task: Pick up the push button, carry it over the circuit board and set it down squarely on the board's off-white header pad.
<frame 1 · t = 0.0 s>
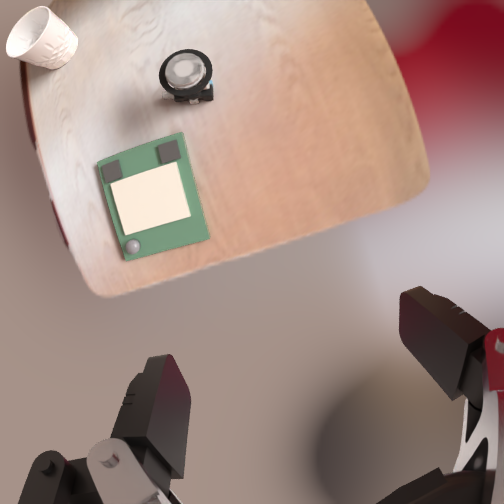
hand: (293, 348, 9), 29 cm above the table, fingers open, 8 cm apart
board: (152, 197, 35), on the table
push button: (190, 94, 32), on the table
white cup: (61, 51, 27), on the table
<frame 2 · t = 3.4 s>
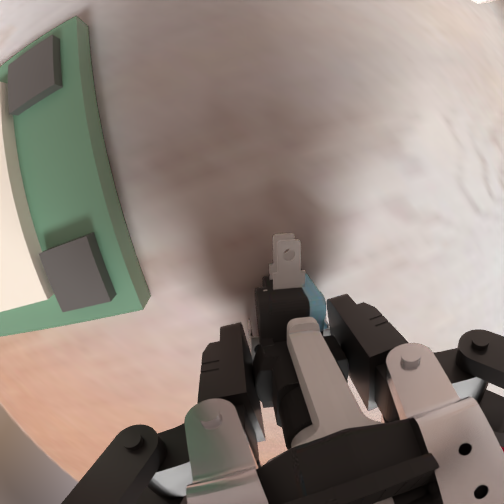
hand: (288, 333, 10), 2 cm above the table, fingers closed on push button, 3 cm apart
push button: (283, 308, 12), on the table, touching gripper
when the fingers open (4 cm above the table, at t = 7.2 s): push button stays where it is, resting on board.
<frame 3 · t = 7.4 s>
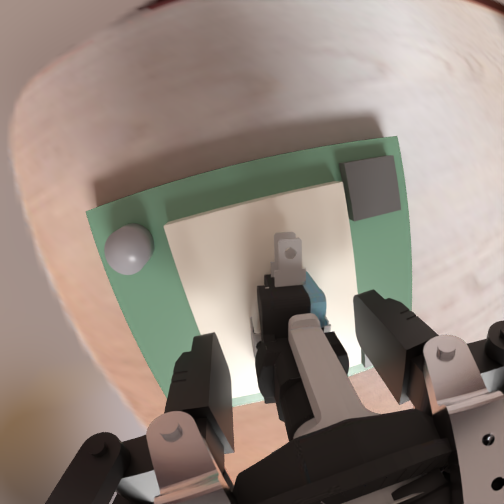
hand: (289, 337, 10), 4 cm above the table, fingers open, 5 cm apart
board: (272, 289, 14), on the table
push button: (284, 305, 12), point 2 cm above the table, touching board
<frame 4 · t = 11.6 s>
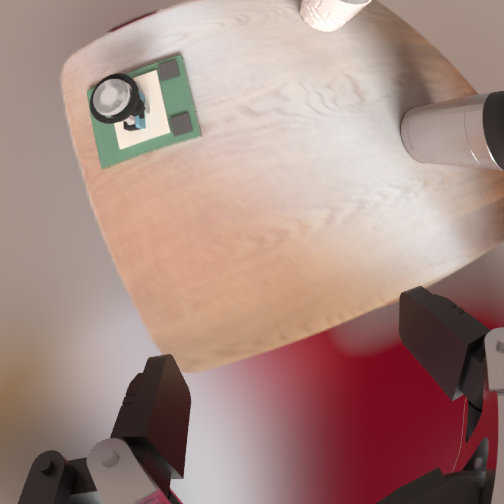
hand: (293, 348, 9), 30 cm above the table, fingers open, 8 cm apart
board: (141, 111, 33), on the table
push button: (139, 108, 31), point 2 cm above the table, touching board
white cup: (320, 15, 30), on the table
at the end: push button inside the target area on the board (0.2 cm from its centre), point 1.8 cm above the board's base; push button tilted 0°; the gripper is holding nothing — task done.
